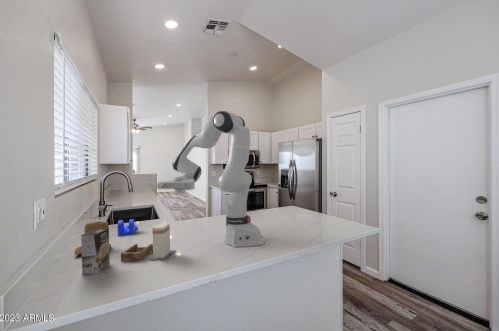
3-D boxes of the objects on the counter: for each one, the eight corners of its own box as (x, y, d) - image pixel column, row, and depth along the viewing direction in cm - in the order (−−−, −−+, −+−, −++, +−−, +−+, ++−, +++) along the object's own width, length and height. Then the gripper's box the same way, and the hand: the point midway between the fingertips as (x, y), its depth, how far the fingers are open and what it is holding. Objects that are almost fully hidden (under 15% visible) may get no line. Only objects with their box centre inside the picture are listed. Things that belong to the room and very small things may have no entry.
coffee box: (98, 273, 92) (97, 234, 91) (81, 275, 91) (80, 235, 91) (110, 263, 101) (109, 227, 101) (95, 264, 100) (94, 228, 100)
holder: (153, 250, 115) (152, 243, 115) (140, 261, 103) (139, 253, 103) (135, 250, 116) (135, 243, 116) (121, 260, 104) (120, 253, 104)
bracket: (132, 234, 143) (132, 220, 143) (117, 236, 140) (117, 221, 140) (137, 227, 160) (137, 214, 160) (124, 228, 158) (124, 215, 158)
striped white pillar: (170, 251, 112) (169, 223, 112) (163, 257, 105) (163, 227, 105) (160, 251, 112) (159, 223, 112) (153, 257, 105) (152, 227, 105)
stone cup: (110, 244, 126) (109, 217, 126) (111, 250, 116) (110, 221, 116) (76, 250, 118) (75, 221, 118) (74, 258, 108) (73, 226, 108)
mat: (175, 251, 114) (175, 250, 114) (166, 260, 103) (166, 259, 103) (158, 251, 114) (158, 250, 114) (147, 260, 103) (147, 259, 103)
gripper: (162, 178, 135) (151, 180, 121) (196, 178, 133) (189, 180, 120) (163, 189, 135) (151, 192, 121) (197, 188, 133) (189, 192, 120)
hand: (170, 186), depth 120 cm, fingers open, 8 cm apart
